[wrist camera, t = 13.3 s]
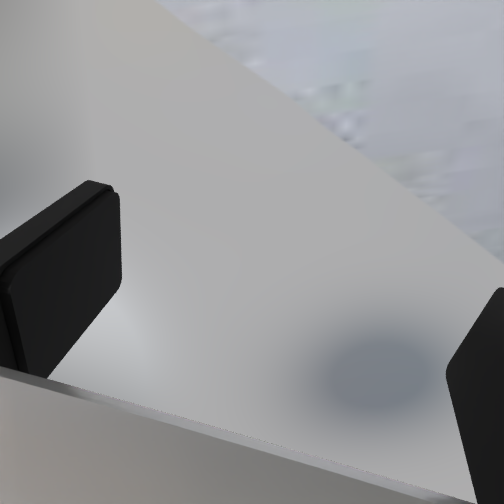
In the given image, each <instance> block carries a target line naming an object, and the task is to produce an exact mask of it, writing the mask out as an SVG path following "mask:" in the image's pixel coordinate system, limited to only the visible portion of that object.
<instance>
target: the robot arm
mask: <svg viewBox="0 0 504 504" xmlns="http://www.w3.org/2000/svg"><path fill="white" fill-rule="evenodd" d="M120 229H121V227H120V198H119V195H118V193H115V192H114V190H113V187H112V186H111V185H107V184H102V183H99V182H94V181H90V180H87V181H85V182H84V183H82V184H81V185H79V186H78V187H76V188H75V189H73V190H72V191H70V192H69V193H68V194H66V195H65V196H63V197H62V198H60V199H59V200H57V201H56V202H54V203H53V204H52V205H50V206H49V207H47V208H46V209H44V210H43V211H41V212H40V213H38V214H37V215H35V216H34V217H33V218H31V219H30V220H28V221H27V222H25V223H24V224H22V225H21V226H19V227H18V228H16V229H15V230H13V231H12V232H11V233H9V234H8V235H6V236H5V237H3V238H2V239H0V504H474V503H471V502H467V501H464V500H460V499H457V498H454V497H450V496H447V495H444V494H440V493H437V492H434V491H430V490H427V489H424V488H420V487H417V486H413V485H410V484H407V483H404V482H400V481H397V480H394V479H390V478H387V477H384V476H380V475H377V474H373V473H370V472H367V471H363V470H360V469H357V468H353V467H350V466H346V465H343V464H339V463H336V462H333V461H329V460H326V459H323V458H319V457H316V456H312V455H309V454H305V453H302V452H299V451H295V450H292V449H289V448H285V447H282V446H278V445H275V444H272V443H268V442H265V441H261V440H258V439H254V438H251V437H248V436H244V435H241V434H237V433H234V432H230V431H227V430H224V429H220V428H217V427H213V426H210V425H207V424H203V423H200V422H196V421H193V420H189V419H186V418H182V417H179V416H176V415H172V414H168V413H165V412H162V411H158V410H155V409H151V408H148V407H144V406H141V405H137V404H134V403H130V402H127V401H123V400H120V399H116V398H113V397H109V396H105V395H102V394H99V393H95V392H91V391H88V390H85V389H81V388H78V387H74V386H71V385H67V384H64V383H60V382H57V381H53V380H49V379H47V378H48V376H49V375H50V374H51V373H52V371H53V370H54V369H55V368H56V366H57V365H58V364H59V363H60V361H61V360H62V359H63V358H64V356H65V355H66V354H67V352H68V351H69V350H70V349H71V348H72V346H73V345H74V344H75V343H76V341H77V340H78V339H79V338H80V336H81V335H82V334H83V333H84V331H85V330H86V329H87V328H88V326H89V325H90V324H91V323H92V322H93V320H94V319H95V318H96V317H97V315H98V314H99V313H100V312H101V310H102V309H103V308H104V307H105V305H106V304H107V303H108V302H109V300H110V299H111V298H112V297H113V295H114V294H115V293H116V292H117V290H118V289H119V287H120V284H121V280H122V265H121V264H122V262H121V230H120ZM446 379H447V384H448V388H449V392H450V396H451V399H452V404H453V407H454V412H455V416H456V420H457V424H458V427H459V431H460V436H461V440H462V443H463V448H464V451H465V455H466V459H467V464H468V467H469V472H470V475H471V480H472V484H473V487H474V491H475V495H476V499H477V503H478V504H504V288H502V287H501V288H498V289H497V290H496V291H495V292H494V294H493V295H492V297H491V298H490V300H489V301H488V303H487V304H486V306H485V307H484V309H483V311H482V312H481V314H480V315H479V317H478V318H477V320H476V322H475V323H474V325H473V326H472V328H471V329H470V331H469V333H468V334H467V336H466V337H465V339H464V340H463V342H462V343H461V345H460V346H459V348H458V349H457V351H456V353H455V354H454V356H453V357H452V359H451V360H450V362H449V364H448V366H447V369H446Z"/></svg>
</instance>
